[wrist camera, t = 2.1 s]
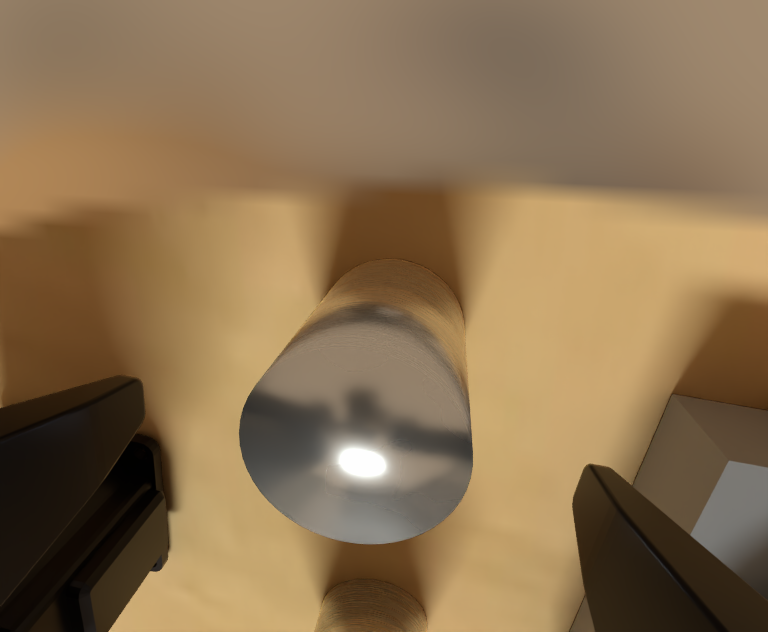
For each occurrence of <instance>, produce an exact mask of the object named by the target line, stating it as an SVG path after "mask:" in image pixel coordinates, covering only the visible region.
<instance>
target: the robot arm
mask: <svg viewBox="0 0 768 632" xmlns="http://www.w3.org/2000/svg"><path fill="white" fill-rule="evenodd" d="M144 417H145V402H144V390H143V383H142V381H141V380H140V379H139V378H135V377H130V376H125V375H118V376H114V377H110V378H107V379H103V380H100V381H96V382H93V383H89V384H85V385H82V386H78V387H75V388H71V389H67V390H64V391H60V392H57V393H53V394H50V395H46V396H42V397H39V398H35V399H32V400H28V401H25V402H21V403H17V404H14V405H10V406H7V407H3V408H0V632H108V631H109V630H110V628H111V627H112V625H113V624H114V623H115V621H116V620H117V618H118V617H119V615H120V614H121V612H122V611H123V609H124V608H125V607H126V605H127V604H128V602H129V601H130V599H131V598H132V596H133V595H134V594H135V592H136V591H137V589H138V588H139V586H140V585H141V583H142V582H143V580H144V579H145V578H146V576H147V575H148V573H149V572H150V571H154V572H157V571H160V570H161V569H162V568H163V566H164V565H165V563H166V562H167V560H168V548H167V546H168V543H169V541H168V527H167V513H166V500H165V496H164V494H163V481H162V468H161V454H160V447H159V445H158V443H157V442H156V441H155V440H154V439H152V438H151V437H148V436H144V435H139V434H135V433H136V432H137V430H138V429H139V427H140V426H141V424H142V422H143V420H144ZM572 508H573V516H574V523H575V530H576V537H577V544H578V551H579V558H580V565H581V572H582V578H583V584H584V589H585V594H586V598H587V603H588V606H589V610H590V614H591V618H592V622H593V626H594V630H595V632H768V600H766V599H765V598H764V597H763V596H762V595H760V594H759V593H758V592H757V591H756V590H755V589H753V588H752V587H751V586H750V585H749V584H747V583H746V582H745V581H744V580H743V579H742V578H740V577H739V576H738V575H737V574H736V573H734V572H733V571H732V570H731V569H730V568H729V567H727V566H726V565H725V564H724V563H723V562H721V561H720V560H719V559H718V558H717V557H716V556H714V555H713V554H712V553H711V552H710V551H708V550H707V549H706V548H705V547H704V546H703V545H701V544H700V543H699V542H698V541H697V540H695V539H694V538H693V537H692V536H691V535H689V534H688V533H687V532H686V531H685V530H684V529H682V528H681V527H680V526H679V525H678V524H676V523H675V522H674V521H673V520H672V519H671V518H669V517H668V516H667V515H666V514H665V513H663V512H662V511H661V510H660V509H659V508H658V507H656V506H655V505H654V504H653V503H652V502H650V501H649V500H648V499H647V498H646V497H645V496H643V495H642V494H641V493H640V492H639V491H637V490H636V489H635V488H634V487H633V486H631V485H630V484H629V483H628V482H627V481H626V480H624V479H623V478H622V477H621V476H620V475H618V474H617V473H616V472H615V471H614V470H613V469H611V468H609V467H606V466H601V465H595V464H588V465H586V466H585V468H584V469H583V472H582V475H581V477H580V480H579V483H578V485H577V488H576V491H575V493H574V496H573V503H572Z"/></svg>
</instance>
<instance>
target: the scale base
mask: <svg viewBox="0 0 768 632" xmlns="http://www.w3.org/2000/svg"><path fill="white" fill-rule="evenodd" d="M633 487H634V488H635V489H636V490H637V491H639V492H640V493H641V494H642V495H643V496H645V497H646V498H647V499H648V500H649V501H650V502H652V503H653V504H654V505H655V506H656V507H658V508H659V509H660V510H661V511H662V512H663V513H665V514H666V515H667V516H668V517H669V518H671V519H672V520H673V521H674V522H675V523H676V524H678V525H679V526H680V527H681V528H682V529H684V530H685V531H686V532H687V533H688V534H689V535H691V536H692V537H693V538H694V539H695V540H697V541H698V542H699V543H700V544H701V545H703V546H704V547H705V548H706V549H707V550H708V551H710V552H711V553H712V554H713V555H714V556H716V557H717V558H718V559H719V560H720V561H721V562H723V563H724V564H725V565H726V566H727V567H729V568H730V569H731V570H732V571H733V572H734V573H736V574H737V575H738V576H739V577H740V578H742V579H743V580H744V581H745V582H746V583H747V584H749V585H750V586H751V587H752V588H753V589H755V590H756V591H757V592H758V593H759V594H760V595H762V596H763V597H764V598H765V599H766V600H768V411H767V410H761V409H755V408H750V407H744V406H738V405H733V404H727V403H721V402H716V401H710V400H704V399H698V398H693V397H687V396H681V395H676V394H672V396H671V398H670V400H669V403H668V405H667V407H666V410H665V412H664V414H663V417H662V419H661V421H660V424H659V426H658V428H657V431H656V433H655V435H654V438H653V440H652V442H651V444H650V447H649V449H648V451H647V454H646V456H645V458H644V461H643V463H642V465H641V468H640V470H639V472H638V475H637V477H636V479H635V482H634V484H633ZM570 632H595V630H594V626H593V622H592V618H591V614H590V610H589V606H588V603H587V598H586V595H585V598H584V600H583V602H582V604H581V607H580V609H579V611H578V614H577V616H576V618H575V621H574V623H573V625H572V628H571V630H570Z"/></svg>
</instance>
